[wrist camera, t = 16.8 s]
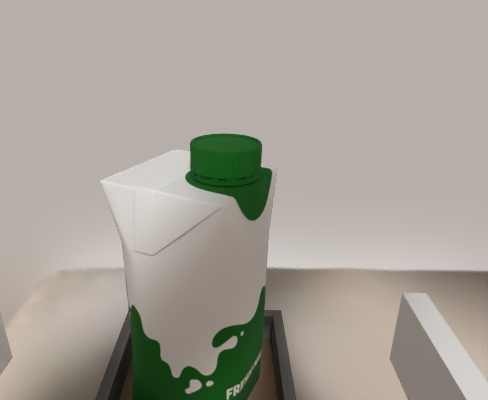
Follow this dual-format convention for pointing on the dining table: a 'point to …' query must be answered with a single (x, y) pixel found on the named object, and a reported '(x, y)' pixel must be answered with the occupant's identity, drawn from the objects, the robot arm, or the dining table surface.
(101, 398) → the dark gray tray
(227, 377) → the soya milk
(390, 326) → the dining table surface
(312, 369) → the dining table surface
